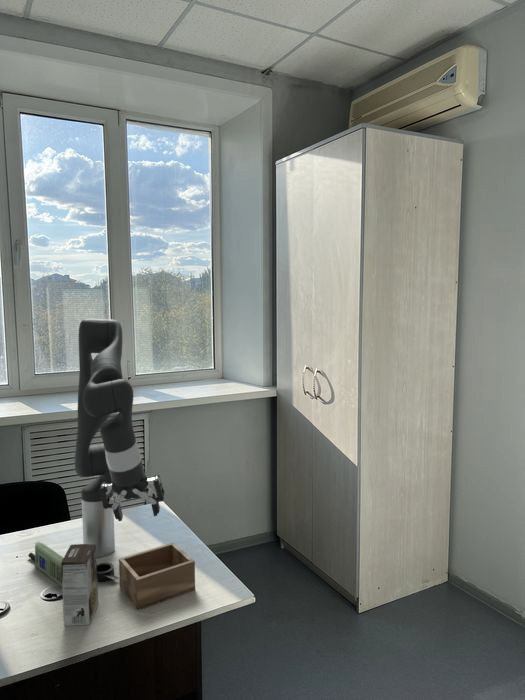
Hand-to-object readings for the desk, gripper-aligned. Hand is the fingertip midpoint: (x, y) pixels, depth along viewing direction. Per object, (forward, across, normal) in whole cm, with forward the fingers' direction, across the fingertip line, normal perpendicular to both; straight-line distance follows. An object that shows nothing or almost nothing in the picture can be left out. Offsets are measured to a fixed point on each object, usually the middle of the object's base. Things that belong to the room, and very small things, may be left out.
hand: (138, 516), depth 127 cm
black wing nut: (+28, +17, -10) cm, 34 cm away
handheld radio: (+27, +32, -14) cm, 44 cm away
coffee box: (+23, +18, +6) cm, 29 cm away
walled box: (+27, +1, -4) cm, 28 cm away
